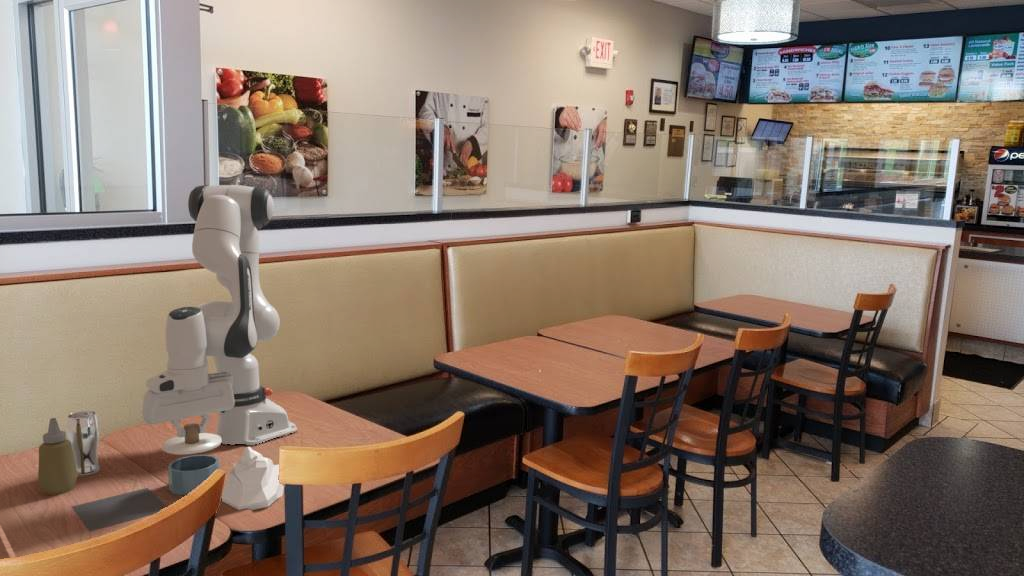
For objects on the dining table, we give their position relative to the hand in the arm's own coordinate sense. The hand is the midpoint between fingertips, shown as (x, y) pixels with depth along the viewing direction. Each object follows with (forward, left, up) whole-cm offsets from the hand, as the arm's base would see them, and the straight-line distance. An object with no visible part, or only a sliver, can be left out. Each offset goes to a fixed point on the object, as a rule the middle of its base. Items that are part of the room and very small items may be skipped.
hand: (191, 434), depth 184 cm
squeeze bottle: (+25, -19, -14) cm, 34 cm away
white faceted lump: (-8, +16, -14) cm, 22 cm away
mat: (+17, +2, -14) cm, 22 cm away
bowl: (0, 0, -14) cm, 14 cm away
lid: (0, 0, -3) cm, 3 cm away
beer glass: (+17, -29, -14) cm, 36 cm away
